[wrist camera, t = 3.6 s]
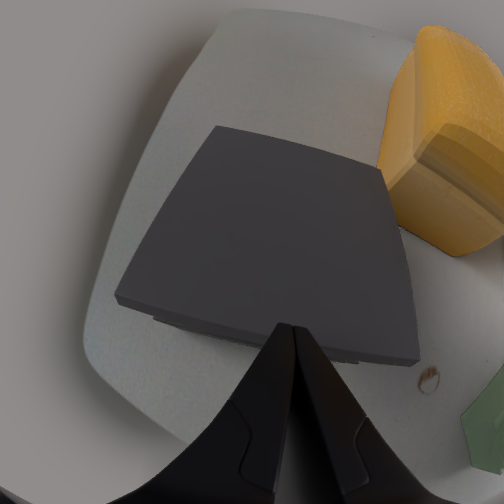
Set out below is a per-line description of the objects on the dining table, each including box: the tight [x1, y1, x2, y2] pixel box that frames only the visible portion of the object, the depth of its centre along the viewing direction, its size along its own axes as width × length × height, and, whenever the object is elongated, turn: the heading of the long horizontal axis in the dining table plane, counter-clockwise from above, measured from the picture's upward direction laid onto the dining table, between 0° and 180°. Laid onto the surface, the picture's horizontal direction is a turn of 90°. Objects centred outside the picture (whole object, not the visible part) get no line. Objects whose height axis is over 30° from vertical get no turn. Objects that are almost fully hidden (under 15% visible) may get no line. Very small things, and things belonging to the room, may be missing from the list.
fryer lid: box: [114, 126, 421, 367], centre depth 14 cm, size 13×12×1 cm
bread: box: [376, 25, 504, 257], centre depth 22 cm, size 24×13×15 cm, turn 156°
